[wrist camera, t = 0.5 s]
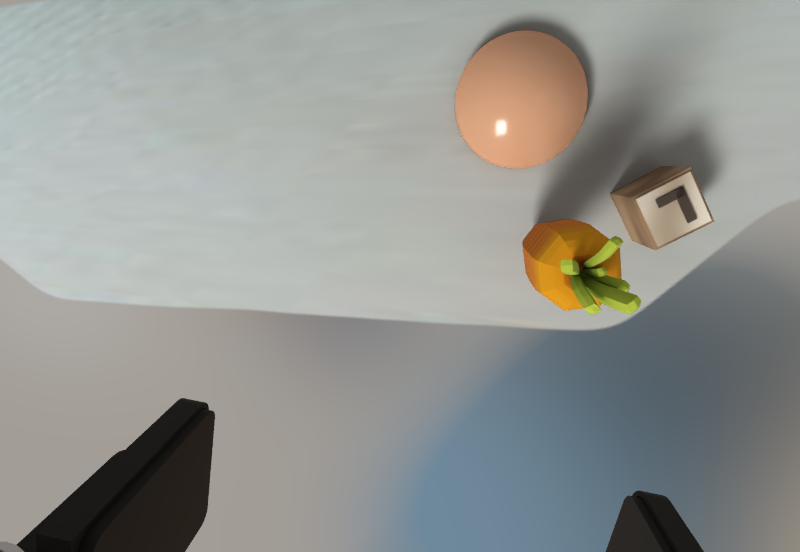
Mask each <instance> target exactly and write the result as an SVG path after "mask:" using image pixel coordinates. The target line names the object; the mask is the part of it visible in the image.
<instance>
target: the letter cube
mask: <svg viewBox="0 0 800 552" xmlns="http://www.w3.org/2000/svg"><path fill="white" fill-rule="evenodd" d="M610 195H611V197H612V199H613V202H614V204H615V206H616V208H617V210H618V212H619V214H620V216H621V218H622V221H623V223H624V225H625V227H626V229H627V231H628V233H629V235H630V238H631V240H632V241H634V242H637V243H639V244H641V245H644V246H646V247H649V248H651V249H654V250H657V249H659V248H661V247H663V246H665V245H667V244H669V243H671V242H673V241H675V240H677V239H679V238H681V237H684V236H686V235H688V234H690V233H692V232H694V231H696V230H698V229H700V228H702V227H704V226H706V225H708V224H710V223H712V222H714V220H713V217H712V215H711V213H710V210H709V208H708V206H707V204H706V201H705V199H704V197H703V194H702V192H701V190H700V187H699V185H698V183H697V181H696V178H695V176H694V174H693V171H692V169H691V167H672V166H662V167H660V168H658V169H656V170H654V171H652V172H650V173H648V174H646V175H645V176H643V177H641V178H639V179H637V180H635V181H633V182H631V183H629V184H627V185H625V186H624V187H622V188H620V189H618V190H616V191H614V192H612V193H610Z"/></svg>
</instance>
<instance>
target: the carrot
mask: <svg viewBox="0 0 800 552" xmlns="http://www.w3.org/2000/svg"><path fill="white" fill-rule="evenodd" d="M622 243H623V241H622V240H621V238H619V237H616V236H615V237H612V238H611V239H608V238H607V237H606V236H604V235H603V234H602V233H600V232H599V231H598V230H596V229H595V228H594V227H592V226H591V225H589V224H586V223H583V222H580V221H576V220H572V219H565V220H558V221H552V222H545V223H539V224H536V225H535V226H534V227H533V228H532V230H531V231H530V232H529V233H528V235H527V236H526V237H525V238H524V240H523V252H524V261H525V270H526V274H527V276H528V278H529V280H530V282H531V283H532V285H533V286H534V288H535V290H537V291H538V292H539V293H541V294H542V295H543V296H545V297H546V298H548V299H549V300H550V301H552V302H553V303H554V304H556V305H557V306H559V307H560V308H561V309H563V310H565V311H567V310H575V309H582V308H584V309H585V310H586V312H587V313H589V314H590V315H592V314H596V313H598V312H599V311H601V309H600V307H599V306H600V305H601V304H602V303H603V304H605V305H607V306H609V307H611V308H613V309H616V310H618V311H621V312H624V313H627V314H631V313H633V312H635V311H636V310H637V309H638V308H639V307H640V304H641V300H640V298H639V297H638V296H637V295H634V294H631V293H628V290H629V289H630V285H629V284H628V283H627V282H626V281H625V280H622V278H621V262H620V249H619V247H620V245H621V244H622Z"/></svg>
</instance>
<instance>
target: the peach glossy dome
mask: <svg viewBox="0 0 800 552" xmlns="http://www.w3.org/2000/svg"><path fill="white" fill-rule="evenodd" d="M587 103H588V87H587V80H586V76H585V73H584V70H583V68H582V65H581V63H580V62H579V60H578V58H577V57H576V55H575V54H574V53H573V51H572V50H571V49H570V48H569V47H568V46H567V45H566V44H564V43H563V42H561V41H560V40H559V39H557V38H555V37H553V36H551V35H548V34H546V33H543V32H538V31H529V30H523V31H514V32H510V33H506V34H504V35H501V36H499V37H497V38H495V39H493V40H491V41H490V42H488V43H487V44H485V45H484V46H483V47H482V48H481V49H479V50H478V51H477V52H476V53H475V55H474V56H473V57H472V58H471V59H470V61H469V62H468V64H467V65H466V67H465V69H464V71H463V73H462V75H461V78H460V81H459V83H458V87H457V91H456V96H455V115H456V121H457V125H458V128H459V131H460V133H461V135H462V137H463V139H464V140H465V142H466V144H467V145H468V146H469V147H470V148H471V150H472V151H473V152H475V153H476V154H477V155H478V156H479V157H481V158H482V159H484V160H485V161H487V162H489V163H491V164H494V165H497V166H501V167H506V168H528V167H533V166H536V165H539V164H542V163H544V162H546V161H548V160H550V159H552V158H553V157H555V156H557V155H558V154H559V153H560V152H562V151H563V150H564V149H565V148H566V147H567V146H568V145H569V144H570V143H571V141H572V140H573V139H574V137H575V136H576V134H577V132H578V131H579V129H580V127H581V125H582V122H583V120H584V117H585V113H586V109H587Z"/></svg>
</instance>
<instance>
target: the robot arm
mask: <svg viewBox="0 0 800 552" xmlns="http://www.w3.org/2000/svg"><path fill="white" fill-rule="evenodd" d="M214 420H215V414H214V412H213V411H210V410H209V407H208V404H207V403H204V402H199V401H194V400H189V399H185V398H182V399H180V400H178V401H177V402H176V403H175V404H174V405H173V406H172V407H171V408H170V409H168V410H167V411H166V412H165V413H164V414H163V415H162V416H161V417H160V418H159V419H158V420H157V421H156V422H155V423H153V424H152V425H151V426H150V427H149V428H148V429H147V430H146V431H145V432H144V433H143V434H142V435H141V436H140V437H138V439H136V440H135V441H134V442H133V443H132V444H131V445H130V446H129V447H128V448H127V449H126V450H123V451H119V452H118V453H117V454H115V455H114V456H113V457H111V458H110V459H109V460H108V461H107V462H106V463H105V464H104V465H103V466H102V467H101V468H100V469H98V470H97V471H96V472H95V473H94V474H93V475H92V476H91V477H90V478H89V479H88V480H87V481H85V482H84V483H83V484H82V485H81V486H80V487H79V488H78V489H77V490H76V491H75V492H73V493H72V494H71V495H70V496H69V497H68V498H67V499H66V500H65V501H64V502H63V503H62V504H61V505H59V506H58V507H57V508H56V509H55V510H54V511H53V512H52V513H51V514H50V515H48V516H47V517H46V518H45V519H44V520H43V521H42V522H41V523H40V524H39V525H38V526H37V527H35V528H34V529H33V530H32V531H31V532H30V533H29V534H28V535H27V536H26V537H25V538H23V540H21V541H20V542H19V543H18V544H17V545H14V544H11V543H8V542H0V552H185V551H186V549H187V548H188V546H189V545H190V543H191V541H192V540H193V538H194V537H195V535H196V534H197V532H198V530H199V529H200V527H201V526H202V523H203V522H204V518H205V516H206V513H207V507H208V495H209V483H210V471H211V470H210V469H211V458H212V446H213V433H214ZM606 552H703V550H702V549H701V547H700V545H699V544H698V542H697V541H696V539H695V538H694V536H693V535H692V533H691V532H690V530H689V529H688V527H687V526H686V524H685V523H684V521H683V520H682V518H681V517H680V516H679V514H678V512H677V511H676V509H675V508H674V506H673V505H672V503H671V502H670V501H669V499H668V498H667V497H665V496H663V495H658V494H653V493H648V492H643V491H636V492H635V493H634V494H633V496H627V497H626V498H625V500H624V502H623V505H622V508H621V511H620V513H619V516H618V519H617V522H616V524H615V528H614V530H613V533H612V536H611V539H610V541H609V544H608V547H607V550H606Z"/></svg>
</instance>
